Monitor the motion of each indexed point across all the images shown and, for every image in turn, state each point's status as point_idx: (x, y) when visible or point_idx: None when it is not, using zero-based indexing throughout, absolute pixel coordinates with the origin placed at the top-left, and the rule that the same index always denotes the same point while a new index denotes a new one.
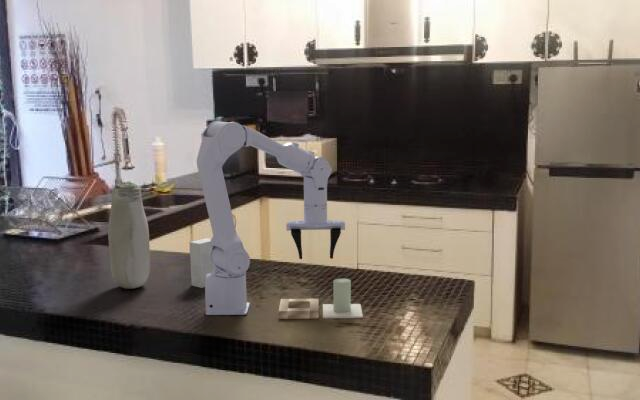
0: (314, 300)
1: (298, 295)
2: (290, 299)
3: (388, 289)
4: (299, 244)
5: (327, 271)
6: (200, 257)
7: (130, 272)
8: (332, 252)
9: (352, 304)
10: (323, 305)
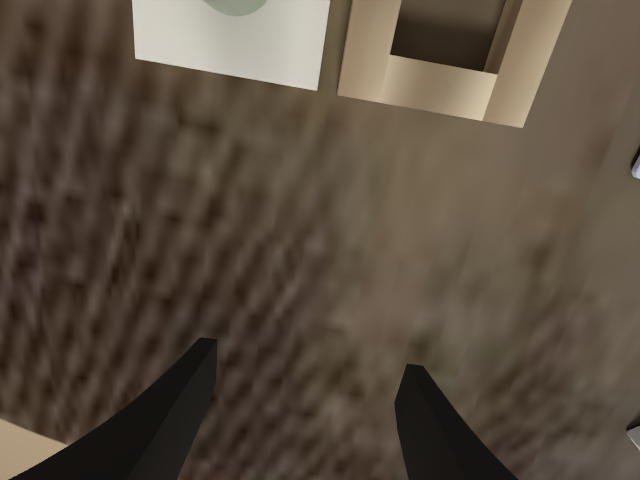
0: (363, 64)
1: (390, 257)
2: (478, 110)
3: (23, 261)
4: (468, 457)
5: (243, 469)
6: None
7: None
8: (183, 362)
9: (174, 55)
10: (316, 69)
